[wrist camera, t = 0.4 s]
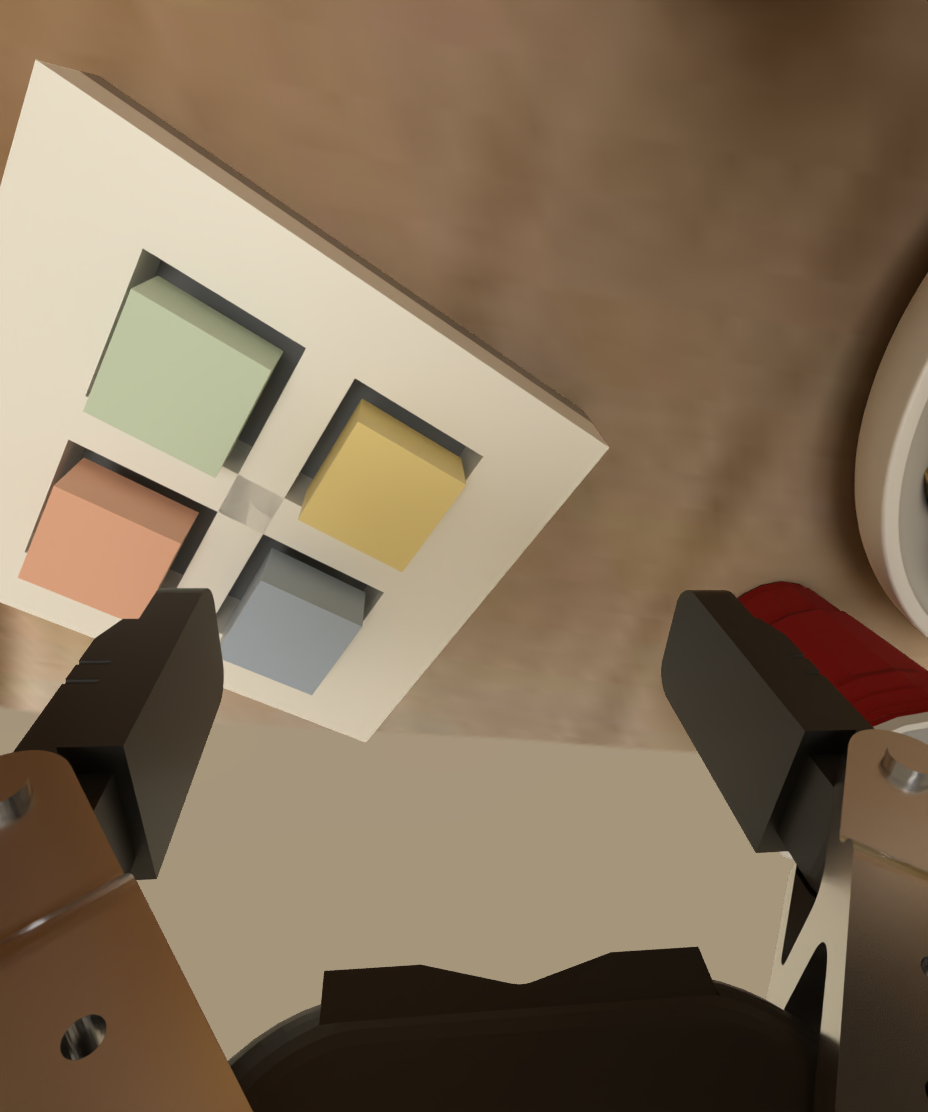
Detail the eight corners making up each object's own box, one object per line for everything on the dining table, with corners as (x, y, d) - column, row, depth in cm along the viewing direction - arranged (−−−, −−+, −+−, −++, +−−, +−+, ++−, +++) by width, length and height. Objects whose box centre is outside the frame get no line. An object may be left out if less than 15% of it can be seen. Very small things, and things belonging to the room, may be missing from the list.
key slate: (271, 547, 26) (260, 580, 24) (365, 592, 28) (362, 626, 26) (228, 620, 28) (214, 656, 26) (318, 658, 30) (311, 695, 28)
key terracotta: (83, 457, 24) (53, 485, 22) (198, 512, 25) (180, 543, 23) (48, 543, 25) (17, 577, 23) (158, 590, 27) (138, 625, 25)
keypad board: (98, 75, 21) (35, 59, 17) (583, 411, 28) (609, 447, 25) (-41, 511, 28) (-105, 562, 25) (369, 684, 36) (365, 742, 32)
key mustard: (362, 398, 23) (357, 421, 21) (461, 457, 25) (466, 484, 23) (306, 490, 25) (297, 519, 23) (402, 540, 27) (402, 572, 25)
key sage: (157, 275, 21) (131, 288, 19) (283, 351, 22) (271, 370, 20) (112, 388, 22) (82, 411, 20) (231, 451, 24) (215, 478, 22)
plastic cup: (656, 699, 38) (745, 894, 28) (692, 546, 33) (821, 722, 23) (827, 691, 39) (974, 877, 29) (892, 540, 33) (1103, 707, 23)
